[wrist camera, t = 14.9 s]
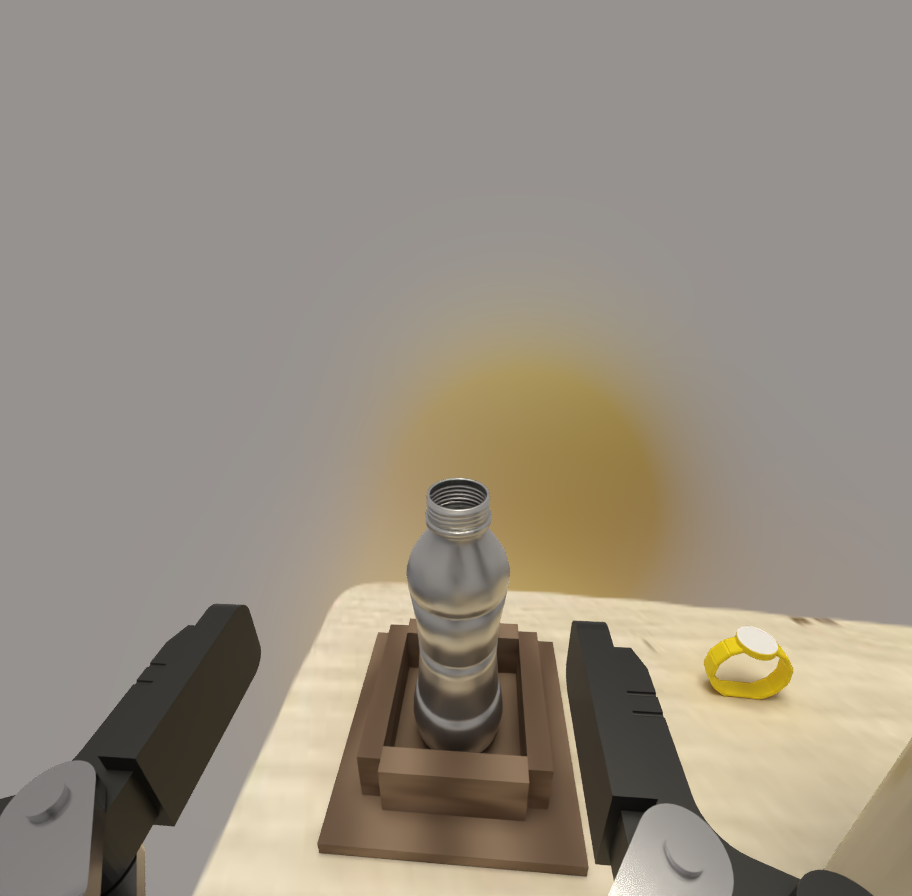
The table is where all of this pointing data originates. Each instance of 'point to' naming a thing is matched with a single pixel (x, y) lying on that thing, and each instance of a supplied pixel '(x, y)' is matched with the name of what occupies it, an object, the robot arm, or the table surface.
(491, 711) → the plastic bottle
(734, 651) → the watch
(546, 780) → the bottle rack
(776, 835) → the table surface
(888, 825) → the robot arm
